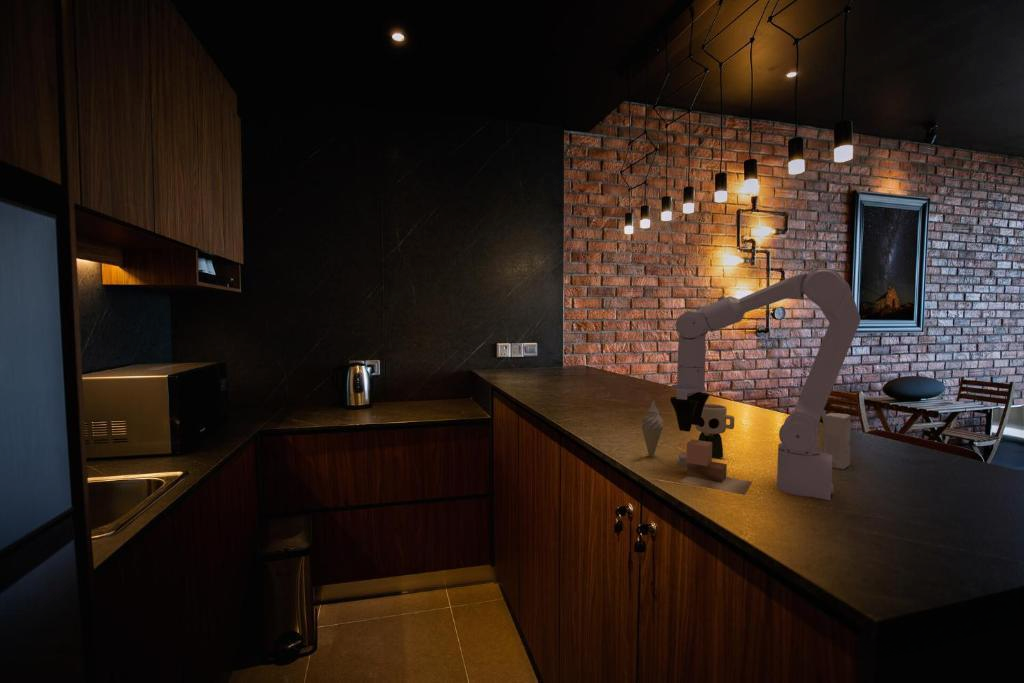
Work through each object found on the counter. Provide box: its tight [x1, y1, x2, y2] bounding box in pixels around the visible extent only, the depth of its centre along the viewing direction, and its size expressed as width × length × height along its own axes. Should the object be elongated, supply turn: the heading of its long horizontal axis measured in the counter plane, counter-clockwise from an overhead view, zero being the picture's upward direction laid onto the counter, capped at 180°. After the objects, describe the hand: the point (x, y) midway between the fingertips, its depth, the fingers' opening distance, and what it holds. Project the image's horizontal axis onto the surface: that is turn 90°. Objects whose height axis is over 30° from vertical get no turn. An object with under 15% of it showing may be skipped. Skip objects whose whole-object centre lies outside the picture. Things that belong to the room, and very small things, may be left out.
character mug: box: [694, 403, 735, 460], centre depth 120 cm, size 11×7×13 cm, turn 52°
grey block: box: [678, 453, 687, 468], centre depth 111 cm, size 4×4×3 cm
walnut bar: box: [686, 461, 728, 483], centre depth 102 cm, size 7×4×3 cm, turn 55°
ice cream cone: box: [641, 399, 664, 458], centre depth 117 cm, size 5×5×15 cm
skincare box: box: [823, 412, 852, 470], centre depth 115 cm, size 6×4×12 cm
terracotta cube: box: [686, 439, 713, 466], centre depth 103 cm, size 4×4×4 cm
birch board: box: [680, 475, 753, 496], centre depth 99 cm, size 12×9×1 cm
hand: (689, 427), depth 107 cm, fingers open, 7 cm apart
